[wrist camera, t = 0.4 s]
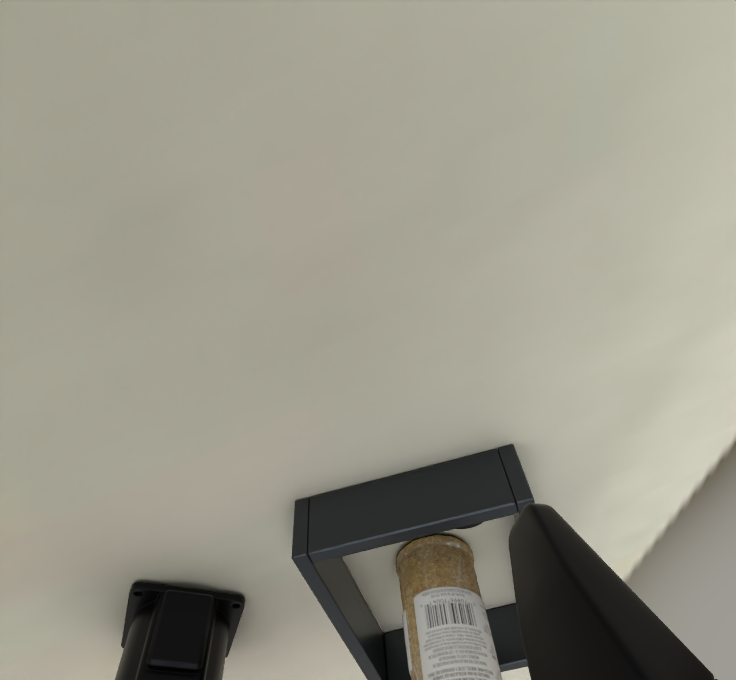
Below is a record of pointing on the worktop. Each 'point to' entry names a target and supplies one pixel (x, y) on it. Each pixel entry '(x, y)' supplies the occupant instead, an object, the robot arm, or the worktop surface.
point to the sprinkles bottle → (444, 612)
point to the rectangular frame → (400, 523)
